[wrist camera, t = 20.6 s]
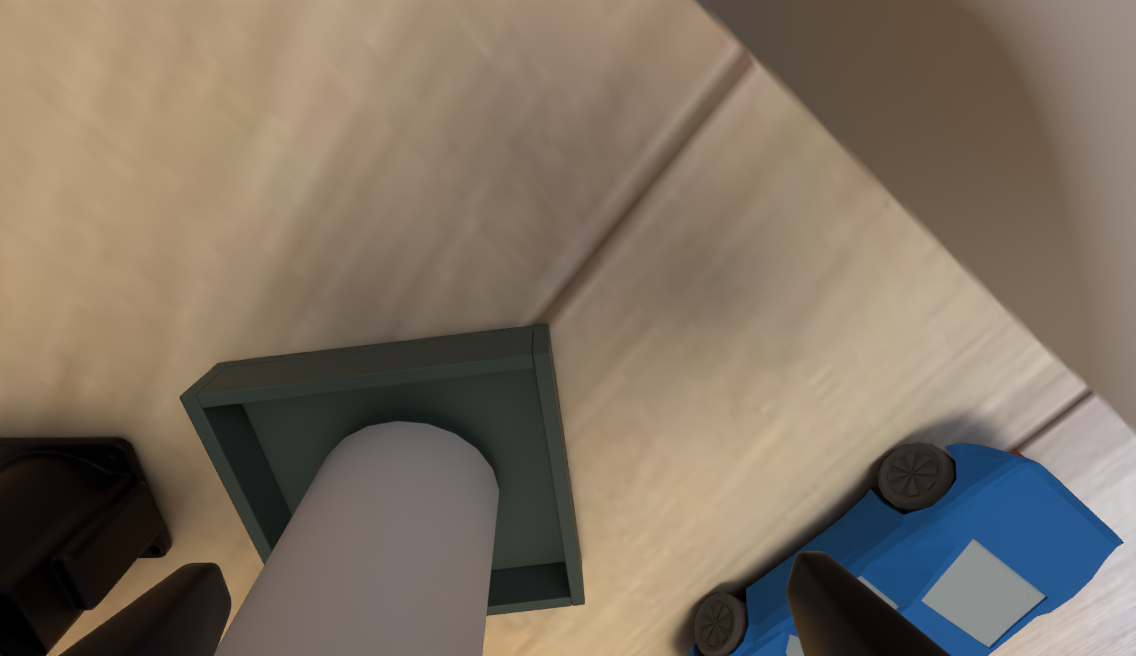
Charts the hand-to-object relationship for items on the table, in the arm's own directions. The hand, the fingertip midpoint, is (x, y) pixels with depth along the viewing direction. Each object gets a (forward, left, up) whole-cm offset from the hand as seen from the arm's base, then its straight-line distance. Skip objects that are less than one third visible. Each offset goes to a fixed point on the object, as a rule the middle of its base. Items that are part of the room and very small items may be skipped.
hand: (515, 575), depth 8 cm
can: (-5, -9, -13) cm, 16 cm away
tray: (-5, -9, -13) cm, 17 cm away
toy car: (+16, -16, -13) cm, 26 cm away
